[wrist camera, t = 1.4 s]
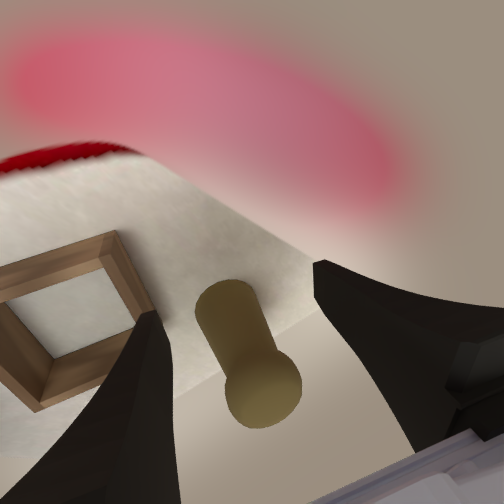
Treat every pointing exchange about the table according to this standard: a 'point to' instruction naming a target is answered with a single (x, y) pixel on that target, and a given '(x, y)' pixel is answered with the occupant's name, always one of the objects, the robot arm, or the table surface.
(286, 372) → the olive game pawn
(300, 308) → the table surface
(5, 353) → the walnut stand
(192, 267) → the table surface
